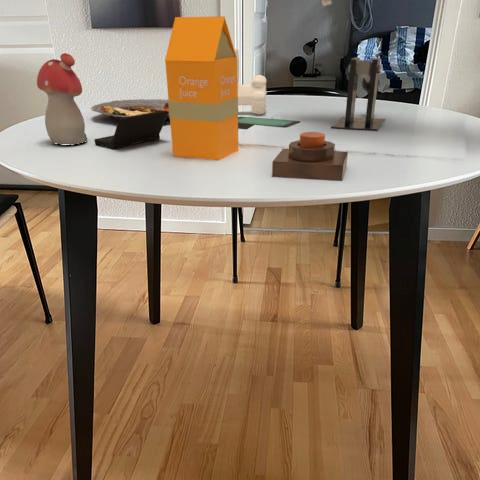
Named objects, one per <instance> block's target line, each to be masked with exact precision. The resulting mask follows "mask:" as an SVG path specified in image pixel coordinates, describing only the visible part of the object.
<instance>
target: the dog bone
mask: <svg viewBox="0 0 480 480" xmlns="http://www.w3.org/2000/svg"><path fill="white" fill-rule="evenodd" d="M267 82H268V81H267V78H266V77H265V76H264V75H263V74H258V75H255V76H254V77H252V80H251V84H239V85H238V106H251V112H252V113H253V114H255V115H264V113H265V112H266V109H267V93H268V91H267Z"/></svg>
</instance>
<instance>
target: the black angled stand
mask: <svg viewBox="0 0 480 480" xmlns="http://www.w3.org/2000/svg"><path fill="white" fill-rule="evenodd" d="M167 115H168V111H167V110H165V111H159V112H153V113H147V114H141V115H135V116H129V117H119V119H118V122H117V124H116V127H115V131H114V134H112V135H109V136H103V137H98V138H94V144H98V145H97V146H100V145H102V146H101V147H104V146H107V147H106V148H108V147H110V149H113V148H116V149H119V148H118V147H120V148H124V147H123V146H125V147H129V146H128V145H130V146H132V144H133V145H135V144H141V142H144V143H147V141H148V142H152V141H153V142H154V141H157V140H160V139H161V136H160V135H161V131H162V129H163V127H164V124H165V122H166V120H167V119H168V118H167Z"/></svg>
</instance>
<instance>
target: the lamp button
mask: <svg viewBox="0 0 480 480" xmlns="http://www.w3.org/2000/svg"><path fill="white" fill-rule="evenodd" d="M299 140H300V145H299V146H301V147H309V148H317V147H324V145H325V141H326V133H323V132H321V131H320V132H319V131H318V132H317V131H305V132H301V133H299Z"/></svg>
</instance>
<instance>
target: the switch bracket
mask: <svg viewBox="0 0 480 480" xmlns="http://www.w3.org/2000/svg"><path fill="white" fill-rule="evenodd" d="M381 59H382V58H381V57H374V58H372V60H371V62H372V67H371V76H370V85H369V92H368V95H367V103H366V111H365V117H360V116H359V117H358V116H355V111H356V100H357V92H358V91H357V89H358V79H359V76H358V74H357V72H358V65H359V60H361V57H353V58H350V60H349V61H350V64H349V65H348V68H347V69H348V74H349V75H348V86H347V94H346V95H347V96H346V107H345V108H346V109H345V116H342V117H341V118H339V119H338V120H337V121H336V122H335V123H333V124H332V125H331V126H330V129H331V130H347V131H349V130H350V131H365V132H378V131H379V130H380V129H381V127H383V124H384V123H385V122H386V118H378V117H375V111H376V110H375V109H376V101H377V94H378V88H377V86H378V77H379V76H380V74H381V72H382V65H381ZM378 87H379V86H378Z"/></svg>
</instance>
